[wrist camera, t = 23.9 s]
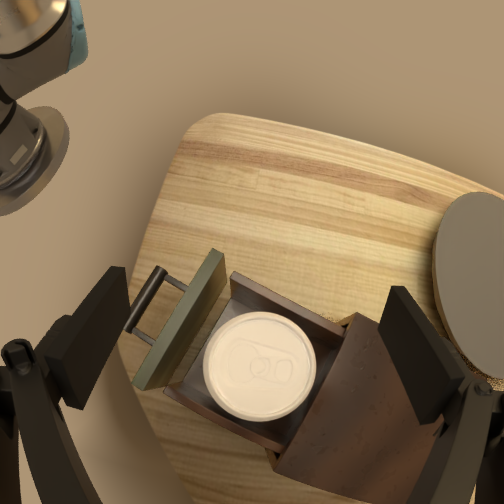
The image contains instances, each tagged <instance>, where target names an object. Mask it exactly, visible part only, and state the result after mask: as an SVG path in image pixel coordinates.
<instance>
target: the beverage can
mask: <svg viewBox="0 0 504 504" xmlns="http://www.w3.org/2000/svg"><path fill="white" fill-rule="evenodd" d="M203 374H204V379H205V383H206V386H207V388H208V390H209V392H210V394H211V396H212V397H213V399H214V400H215V401H216V402H217V403H218V405H219V406H221V407H222V408H223V409H224V410H225V411H227V412H228V413H230V414H232V415H234V416H236V417H238V418H241V419H244V420H249V421H270V420H274V419H278V418H281V417H283V416H285V415H287V414H289V413H290V412H292V411H293V410H295V409H296V408H297V407H298V406H299V405H300V404H301V403H302V402H303V401H304V400H305V399H306V397H307V396H308V394H309V392H310V390H311V388H312V386H313V383H314V380H315V375H316V358H315V353H314V350H313V347H312V344H311V342H310V340H309V339H308V337H307V336H306V334H305V333H304V332H303V331H302V330H301V328H300V327H298V326H297V325H296V324H295V323H294V322H292V321H291V320H289V319H287V318H285V317H283V316H281V315H278V314H274V313H269V312H250V313H246V314H242V315H239V316H237V317H235V318H233V319H231V320H229V321H228V322H226V323H225V324H223V325H222V326H221V327H220V328H219V329H218V330H217V331H216V332H215V334H214V335H213V336H212V338H211V339H210V341H209V343H208V345H207V348H206V351H205V354H204V359H203Z"/></svg>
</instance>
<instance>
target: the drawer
mask: <svg viewBox="0 0 504 504" xmlns="http://www.w3.org/2000/svg"><path fill="white" fill-rule="evenodd" d="M164 280H165V281H167V282H168V283H170V284H172V285H173V286H175V287H177V288H178V289H180V290H182V291H183V292H185V293H184V294H183V296H182V298H181V299H180V301H179V303H178V304H177V306H176V308H175V309H174V311H173V313H172V314H171V316H170V318H169V319H168V321H167V323H166V324H165V326H164V328H163V329H162V331H161V333H160V334H159V336H158V338H157V339H156V340H154V339H153V338H151V337H150V336H148V335H146V334H145V333H143V332H142V331H140V330H139V329H137V328H136V325H137V324H138V322H139V320H140V319H141V317H142V315H143V314H144V312H145V310H146V309H147V307H148V305H149V304H150V302H151V301H152V299H153V297H154V296H155V294H156V292H157V291H158V289H159V288H160V286H161V284H162V283H163V281H164ZM226 283H227V276H226V267H225V258H224V254H223V253H221V252H219V251H217V250H215V249H214V248H212V249H211V251H210V252H209V254H208V256H207V257H206V259H205V260H204V262H203V264H202V265H201V267H200V268H199V270H198V272H197V273H196V275H195V276H194V278H193V280H192V281H191V283H190V285H189V286H187V285H185V284H183V283H182V282H180V281H178V280H177V279H175V278H173V277H171V276H170V275H168V272H167V271H166V270H165V269H163V268H162V267H160V266H156V267H155V269H154V270H153V272H152V273H151V275H150V276H149V278H148V280H147V281H146V283H145V284H144V286H143V288H142V289H141V291H140V292H139V294H138V296H137V297H136V299H135V300H134V302H133V304H132V305H131V307H130V309H131V315H130V317H129V319H128V321H127V323H126V325H125V326H124V328H123V330H125V331H126V332H128V333H130V334H132V333H133V334H135V335H136V336H138V337H139V338H141V339H142V340H144V341H145V342H147V343H148V344H150V345H151V346H152V348H151V350H150V351H149V353H148V355H147V356H146V358H145V360H144V362H143V363H142V365H141V367H140V369H139V370H138V372H137V374H136V376H135V377H134V379H133V381H132V382H131V384H133V385H134V386H136V387H137V388H139V389H140V390H142V391H146V390H150V389H155V388H159V387H164V386H166V385H167V384H168V382H169V380H170V378H171V377H172V375H173V373H174V372H175V370H176V368H177V366H178V365H179V363H180V361H181V360H182V358H183V356H184V354H185V353H186V351H187V349H188V348H189V346H190V344H191V342H192V341H193V339H194V337H195V336H196V334H197V332H198V331H199V329H200V327H201V325H202V324H203V322H204V320H205V319H206V317H207V315H208V313H209V312H210V310H211V308H212V307H213V305H214V303H215V302H216V300H217V298H218V296H219V295H220V293H221V291H222V290H223V288H224V286H225V285H226ZM230 289H231V299H230V300H229V302H228V304H227V305H226V307H225V309H224V311H223V312H222V314H221V316H220V318H219V319H218V321H217V323H216V324H215V326H214V328H213V330H212V331H211V333H210V335H209V337H208V338H207V340H206V342H205V343H204V345H203V347H202V349H201V350H200V352H199V354H198V355H197V357H196V359H195V361H194V362H193V364H192V366H191V368H190V369H189V371H188V373H187V374H186V376H185V378H184V380H183V381H182V382H178V383H174V384H170V385H167V386H166V388H165V389H164V391H163V393H164V394H166V395H167V396H169V397H171V398H172V399H174V400H176V401H177V402H179V403H181V404H182V405H184V406H186V407H187V408H189V409H191V410H193V411H194V412H196V413H198V414H200V415H202V416H203V417H205V418H207V419H209V420H211V421H213V422H214V423H216V424H218V425H220V426H222V427H224V428H226V429H228V430H230V431H232V432H234V433H236V434H238V435H240V436H242V437H244V438H246V439H248V440H250V441H252V442H254V443H257V444H259V445H261V446H263V447H265V448H268V449H270V450H272V451H274V452H277V453H279V454H281V453H282V452H283V450H284V448H285V447H286V445H287V443H288V442H289V440H290V438H291V436H292V435H293V433H294V431H295V430H296V428H297V426H298V424H299V422H300V421H301V419H302V417H303V415H304V413H305V412H306V410H307V408H308V406H309V404H310V402H311V401H312V399H313V397H314V395H315V393H316V391H317V389H318V387H319V385H320V383H321V381H322V379H323V377H324V375H325V373H326V371H327V369H328V367H329V365H330V363H331V361H332V359H333V357H334V355H335V353H336V351H337V349H338V347H339V344H340V342H341V340H342V338H343V336H344V334H345V331H346V329H345V328H343V327H341V326H339V325H337V324H335V323H333V322H331V321H329V320H327V319H325V318H323V317H322V316H320V315H318V314H316V313H314V312H312V311H310V310H308V309H306V308H304V307H302V306H300V305H298V304H296V303H294V302H293V301H291V300H289V299H287V298H285V297H283V296H281V295H279V294H277V293H275V292H273V291H272V290H270V289H268V288H266V287H264V286H262V285H260V284H258V283H256V282H254V281H253V280H251V279H249V278H247V277H245V276H243V275H241V274H239V273H238V272H236V271H233V273H232V275H231V276H230ZM250 312H269V313H274V314H278V315H281V316H283V317H285V318H287V319H289V320H291V321H292V322H294V323H295V324H296V325H297V326H298V327H300V328H301V330H302V331H303V332H304V333H305V334H306V336H307V337H308V339H309V340H310V342H311V344H312V347H313V350H314V353H315V358H316V375H315V380H314V383H313V386H312V388H311V390H310V392H309V394H308V396H307V397H306V399H305V400H304V401H303V402H302V403H301V404H300V405H299V406H298V407H297V408H296V409H295V410H293V411H292V412H290V413H289V414H287V415H285V416H283V417H281V418H278V419H274V420H270V421H249V420H244V419H241V418H238V417H236V416H234V415H232V414H230V413H228V412H227V411H225V410H224V409H223V408H222V407H221V406H219V405H218V403H217V402H216V401H215V400H214V399H213V397H212V396H211V394H210V392H209V390H208V388H207V386H206V383H205V379H204V374H203V359H204V354H205V351H206V348H207V345H208V343H209V341H210V339H211V338H212V336H213V335H214V334H215V332H216V331H217V330H218V329H219V328H220V327H221V326H222V325H223V324H225V323H226V322H228V321H229V320H231V319H233V318H235V317H237V316H239V315H242V314H246V313H250Z"/></svg>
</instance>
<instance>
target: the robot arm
mask: <svg viewBox="0 0 504 504" xmlns="http://www.w3.org/2000/svg"><path fill="white" fill-rule="evenodd" d="M87 56H88V46H87V38H86V32H85V28H84V22H83V16H82V11H81V6H80V2H79V0H0V189H2V188H4V187H7V186H9V185H10V184H12V183H13V182H15V181H16V180H18V179H19V178H20V177H21V176H22V175H23V174H24V173H25V172H26V171H27V170H28V169H29V168H30V167H31V165H32V164H33V163H34V162H35V160H36V159H37V157H38V155H39V154H40V152H41V150H42V147H43V145H44V142H45V137H46V131H45V127H44V126H43V124H42V122H41V121H40V119H39V118H38V117H36V116H35V115H33V114H32V113H30V112H29V111H28V110H26V109H25V108H23V107H21V106H20V105H18V104H17V102H16V100H17V99H19V98H20V97H22V96H24V95H26V94H27V93H29V92H31V91H32V90H34V89H36V88H38V87H39V86H41V85H43V84H45V83H47V82H49V81H51V80H53V79H55V78H57V77H59V76H61V75H63V74H66V73H67V72H68V71H69V70H71V69H73V68H75V67H77V66H78V65H80V64H82V63H83V62H84V61H85V60H86V58H87ZM130 315H131V309H130V303H129V296H128V288H127V282H126V272H125V267H116V266H111V267H110V268H109V269H108V270H107V272H106V273H105V274H104V275H103V277H102V278H101V279H100V280H99V281H98V283H97V284H96V285H95V286H94V288H93V289H92V290H91V291H90V293H89V294H88V295H87V297H86V298H85V299H84V300H83V301H82V303H81V304H80V305H79V307H78V308H77V309H76V311H75V312H74V313H73V315H72V316H70V315H64V316H62V317H61V318H59V319H58V320H56V321H55V323H54V324H53V325H52V327H51V328H50V330H48V332H47V333H46V336H44V337H43V338H42V340H41V341H40V342H39V344H38V345H37V346H36V348H35V349H34V350H33V348H32V346H31V344H30V342H29V341H27V340H25V339H14V340H12V341H10V342H8V343H7V344H6V345H4V347H3V349H2V350H1V356H2V358H3V361H4V362H5V364H6V366H0V504H22V503H21V493H20V479H19V457H18V456H19V454H18V453H19V452H18V439H19V438H18V437H19V431H20V435H21V439H22V443H23V447H24V451H25V454H26V458H27V461H28V465H29V468H30V471H31V474H32V477H33V480H34V483H35V486H36V489H37V491H38V494H39V497H40V500H41V502H42V504H103V503H102V502H101V500H100V498H99V497H98V494H97V492H96V490H95V488H94V487H93V484H92V482H91V481H90V479H89V477H88V474H87V473H86V470H85V468H84V466H83V464H82V461H81V459H80V457H79V455H78V452H77V450H76V447H75V445H74V443H73V440H72V438H71V435H70V433H69V430H68V427H67V425H66V422H65V419H64V417H63V414H62V411H61V408H60V406H59V404H58V403H59V401H60V399H61V397H62V398H63V400H64V402H65V404H66V405H67V406H69V407H72V408H76V409H79V410H83V409H84V407H85V405H86V402H87V400H88V398H89V396H90V394H91V391H92V390H93V388H94V385H95V383H96V381H97V379H98V377H99V375H100V373H101V371H102V369H103V367H104V365H105V363H106V361H107V359H108V357H109V355H110V353H111V351H112V349H113V347H114V346H115V343H116V342H117V340H118V338H119V336H120V334H121V332H122V330H123V328H124V326H125V325H126V323H127V321H128V319H129V317H130ZM377 330H378V332H379V334H380V336H381V338H382V340H383V343H384V345H385V347H386V349H387V351H388V353H389V355H390V357H391V360H392V362H393V364H394V366H395V368H396V371H397V373H398V375H399V377H400V379H401V382H402V384H403V386H404V388H405V391H406V393H407V395H408V398H409V400H410V402H411V405H412V407H413V409H414V412H415V414H416V417H417V419H418V422H419V424H420V426H421V425H426V424H431V423H435V422H436V420H437V419H438V418H439V416H440V415H441V413H442V415H443V418H444V421H443V422H442V424H441V425H440V426H439V428H438V429H437V430H436V431H435V433H434V434H433V436H434V437H435V435H436V434H437V433H438V434H437V436H436V439H435V441H434V444H433V446H432V449H431V451H430V454H429V456H428V458H427V461H426V463H425V465H424V467H423V470H422V472H421V474H420V476H419V478H418V480H417V482H416V484H415V486H414V488H413V490H412V492H411V494H410V496H409V498H408V500H407V502H406V504H469V502H470V499H471V496H472V493H473V490H474V487H475V484H476V492H475V503H474V504H504V391H496V390H493V388H492V386H491V385H490V384H489V383H488V382H486V381H484V380H482V379H475V377H474V376H473V374H472V373H471V371H470V370H469V368H468V366H467V365H466V363H465V362H464V360H463V359H461V356H460V354H459V353H457V350H456V348H455V347H454V345H453V344H452V343H451V342H450V341H449V340H447V339H446V338H445V337H440V336H439V334H438V333H437V331H436V330H435V328H434V327H433V326H432V324H431V323H430V321H429V320H428V318H427V317H426V316H425V314H424V313H423V311H422V310H421V308H420V307H419V306H418V304H417V303H416V302H415V300H414V299H413V297H412V296H411V295H410V293H409V292H408V291H407V289H406V288H405V287H404V286H391V289H390V292H389V295H388V298H387V302H386V305H385V308H384V311H383V314H382V317H381V320H380V323H379V326H378V328H377Z"/></svg>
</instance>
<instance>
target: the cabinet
mask: <svg viewBox="0 0 504 504" xmlns="http://www.w3.org/2000/svg"><path fill="white" fill-rule="evenodd" d="M335 324H337V325H339V326H341V327H343V328H345V329H346V331H345V334H344V336H343V338H342V340H341V342H340V344H339V347H338V349H337V351H336V353H335V355H334V357H333V359H332V361H331V363H330V365H329V367H328V369H327V371H326V373H325V375H324V377H323V379H322V381H321V383H320V385H319V387H318V389H317V391H316V393H315V395H314V397H313V399H312V401H311V402H310V404H309V406H308V408H307V410H306V412H305V413H304V415H303V417H302V419H301V421H300V422H299V424H298V426H297V428H296V430H295V431H294V433H293V435H292V436H291V438H290V440H289V442H288V443H287V445H286V447H285V448H284V450H283V452H282V453H281V454H279V453H277V452H274V451H272V450H270V449H268V448H265V450H266V453H267V456H268V458H269V461H270V464H271V467H272V469H273V471H274V472H276V473H278V474H281V475H283V476H286V477H288V478H291V479H294V480H296V481H299V482H302V483H304V484H307V485H310V486H313V487H316V488H319V489H322V490H325V491H328V492H331V493H335V494H338V495H341V496H345V497H348V498H352V499H356V500H359V501H363V502H367V503H371V504H406V502H407V500H408V498H409V496H410V494H411V492H412V490H413V488H414V486H415V484H416V482H417V480H418V478H419V476H420V474H421V472H422V470H423V467H424V465H425V463H426V461H427V458H428V456H429V454H430V451H431V449H432V446H433V444H434V441H435V439H436V436H437V434H438V433H437V434H436V435H435V437H434V436H433V434H434V433H435V431H436V430H437V429H438V428H439V426H440V425H441V424H442V422H443V421H444V418H443V415H442V413H441V415H440V416H439V418H438V419H437V420H436V422H435V423H431V424H426V425H421V426H420V424H419V422H418V419H417V417H416V414H415V412H414V409H413V407H412V405H411V402H410V400H409V398H408V395H407V393H406V391H405V388H404V386H403V384H402V382H401V379H400V377H399V375H398V373H397V371H396V368H395V366H394V364H393V362H392V360H391V357H390V355H389V353H388V351H387V349H386V347H385V345H384V343H383V340H382V338H381V336H380V334H379V332H378V330H377V328H378V326H379V323H377V322H375V321H373V320H371V319H369V318H367V317H365V316H364V315H362V314H360V313H358V312H356V313H354V314H352V315H350V316H348V317H346V318H344V319H342V320H340V321H338V322H336V323H335ZM471 373H472V374H473V376H474V377H475V379H482V380H484V381H486V382H487V379H486V378H484V377H482V376H480V375H478V374H476V373H474V372H472V371H471Z"/></svg>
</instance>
